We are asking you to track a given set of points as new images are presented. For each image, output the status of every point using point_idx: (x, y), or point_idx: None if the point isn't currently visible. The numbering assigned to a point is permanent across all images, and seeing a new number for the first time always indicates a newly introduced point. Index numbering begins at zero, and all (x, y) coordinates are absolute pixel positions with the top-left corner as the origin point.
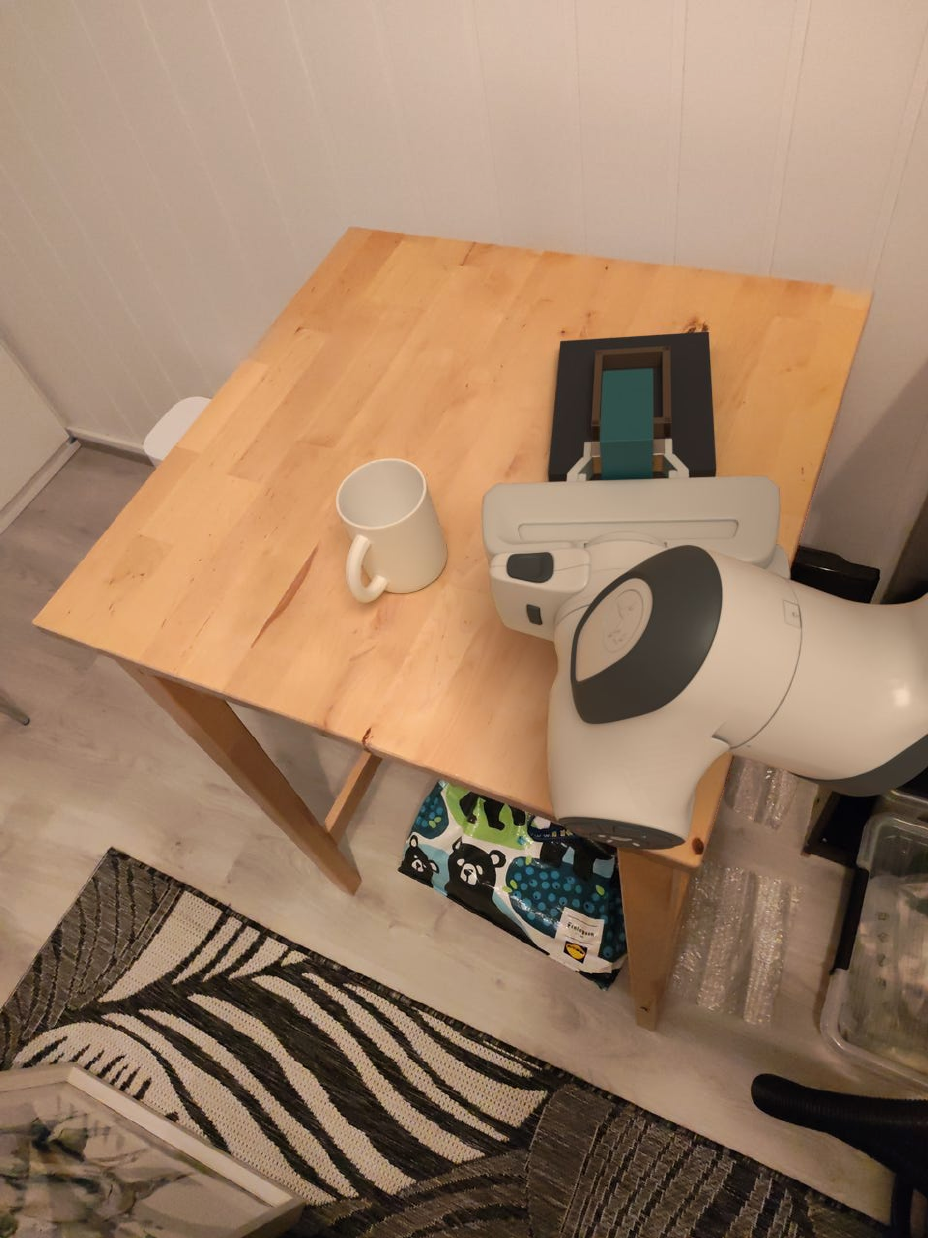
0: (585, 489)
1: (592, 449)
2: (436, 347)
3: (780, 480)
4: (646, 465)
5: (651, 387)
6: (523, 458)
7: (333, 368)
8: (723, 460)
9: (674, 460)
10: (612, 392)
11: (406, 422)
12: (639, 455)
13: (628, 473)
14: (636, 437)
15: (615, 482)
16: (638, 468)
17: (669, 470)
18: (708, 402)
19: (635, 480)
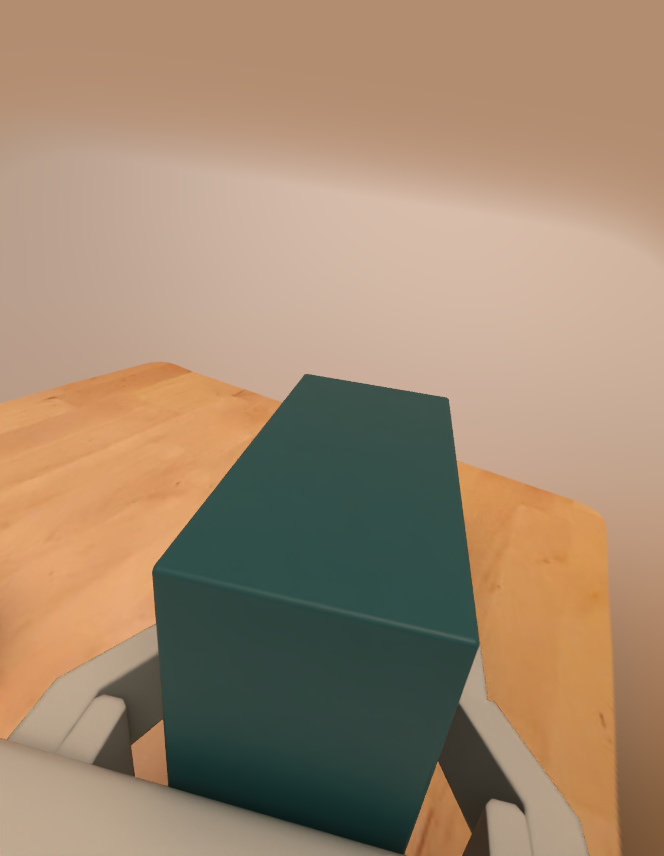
0: (15, 844)
1: None
2: (170, 443)
3: (572, 730)
4: (396, 774)
5: (447, 431)
6: None
7: (51, 432)
8: None
9: (502, 738)
10: (313, 413)
11: (81, 501)
12: (370, 713)
13: (295, 781)
14: (374, 599)
15: (208, 834)
16: (350, 776)
17: (471, 771)
18: None
19: (321, 852)
